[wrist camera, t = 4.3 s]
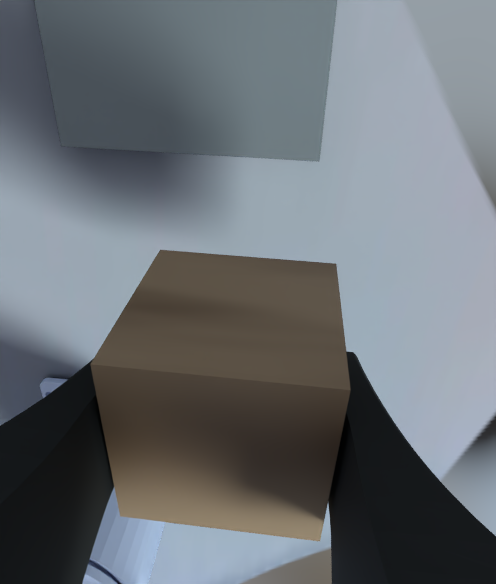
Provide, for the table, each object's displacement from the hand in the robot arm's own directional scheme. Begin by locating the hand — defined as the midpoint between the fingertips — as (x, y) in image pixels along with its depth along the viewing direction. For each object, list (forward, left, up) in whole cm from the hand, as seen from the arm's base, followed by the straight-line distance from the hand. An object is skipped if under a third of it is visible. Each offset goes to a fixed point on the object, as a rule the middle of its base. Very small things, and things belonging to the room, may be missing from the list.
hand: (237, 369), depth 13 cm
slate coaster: (+9, +3, -8) cm, 13 cm away
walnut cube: (0, 0, -2) cm, 2 cm away
